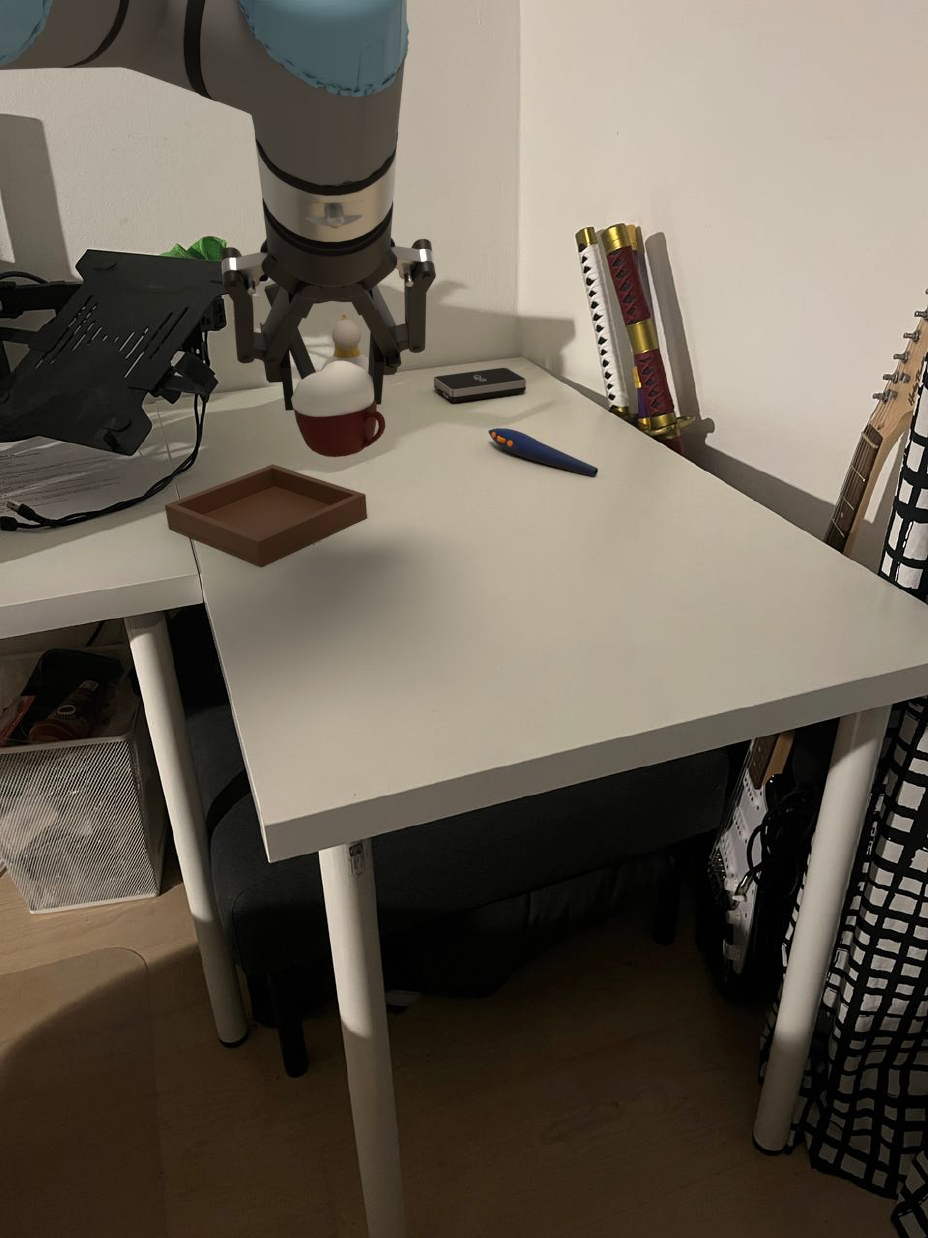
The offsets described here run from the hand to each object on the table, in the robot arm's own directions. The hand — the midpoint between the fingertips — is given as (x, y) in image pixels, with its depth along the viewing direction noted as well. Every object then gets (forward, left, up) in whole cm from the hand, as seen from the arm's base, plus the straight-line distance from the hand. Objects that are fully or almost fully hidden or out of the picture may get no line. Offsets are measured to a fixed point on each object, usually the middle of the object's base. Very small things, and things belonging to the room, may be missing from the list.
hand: (331, 391), depth 77 cm
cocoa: (-3, -3, -4) cm, 5 cm away
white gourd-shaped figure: (+34, +33, -16) cm, 50 cm away
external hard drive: (+49, +24, -16) cm, 57 cm away
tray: (+3, +14, -16) cm, 21 cm away
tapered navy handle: (+33, +3, -16) cm, 37 cm away
